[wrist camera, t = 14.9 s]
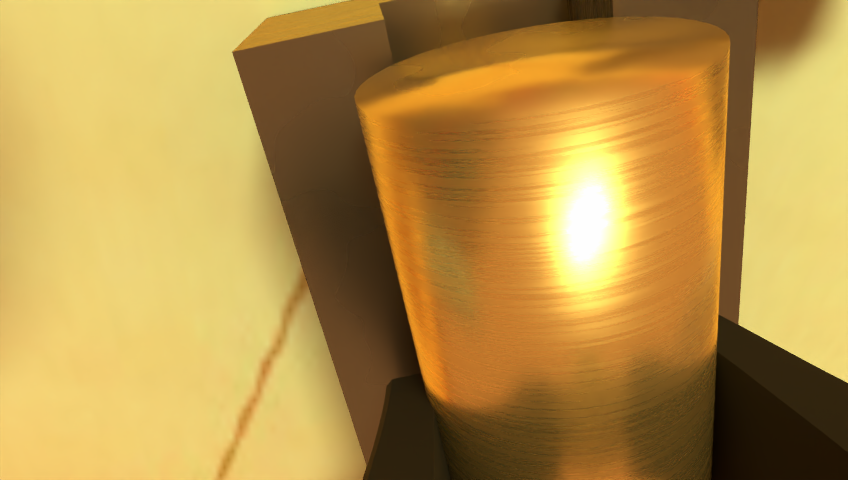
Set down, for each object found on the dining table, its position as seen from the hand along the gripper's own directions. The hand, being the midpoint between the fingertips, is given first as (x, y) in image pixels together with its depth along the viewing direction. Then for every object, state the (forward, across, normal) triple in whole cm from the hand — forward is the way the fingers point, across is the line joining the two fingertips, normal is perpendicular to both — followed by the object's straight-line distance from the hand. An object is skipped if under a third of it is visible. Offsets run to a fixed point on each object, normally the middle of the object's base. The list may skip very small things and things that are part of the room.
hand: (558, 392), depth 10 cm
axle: (-1, 0, 0) cm, 1 cm away
